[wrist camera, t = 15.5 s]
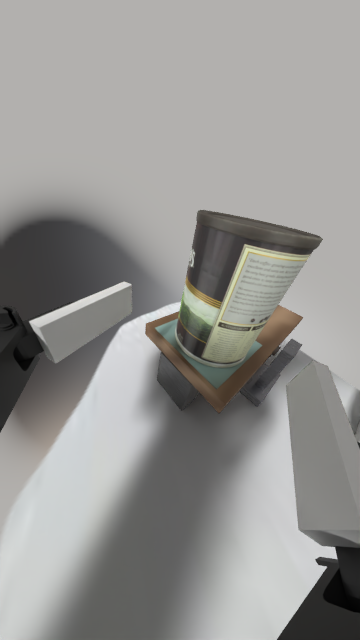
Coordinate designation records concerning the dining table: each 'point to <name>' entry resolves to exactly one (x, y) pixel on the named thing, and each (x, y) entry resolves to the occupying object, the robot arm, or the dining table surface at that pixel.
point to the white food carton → (358, 433)
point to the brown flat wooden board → (222, 381)
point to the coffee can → (236, 284)
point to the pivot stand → (252, 390)
